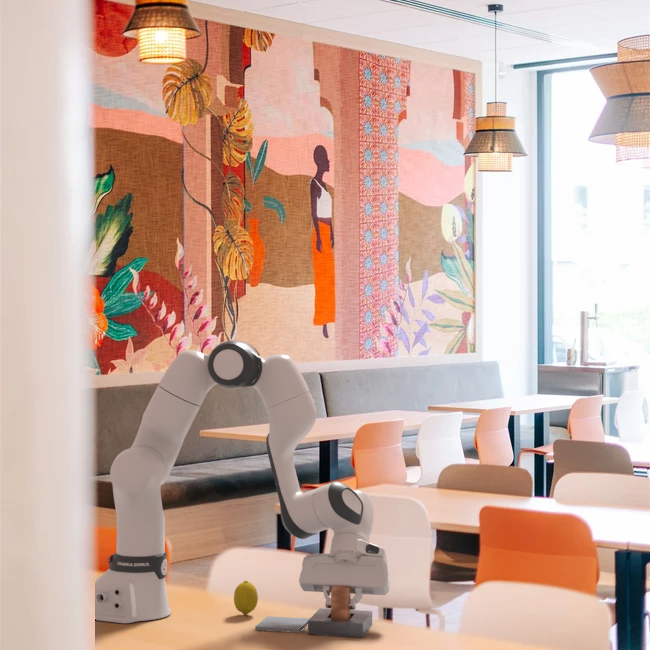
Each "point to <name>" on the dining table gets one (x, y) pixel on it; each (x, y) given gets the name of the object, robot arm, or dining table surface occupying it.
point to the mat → (282, 624)
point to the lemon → (245, 597)
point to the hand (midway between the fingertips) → (340, 607)
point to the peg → (340, 602)
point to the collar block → (340, 624)
